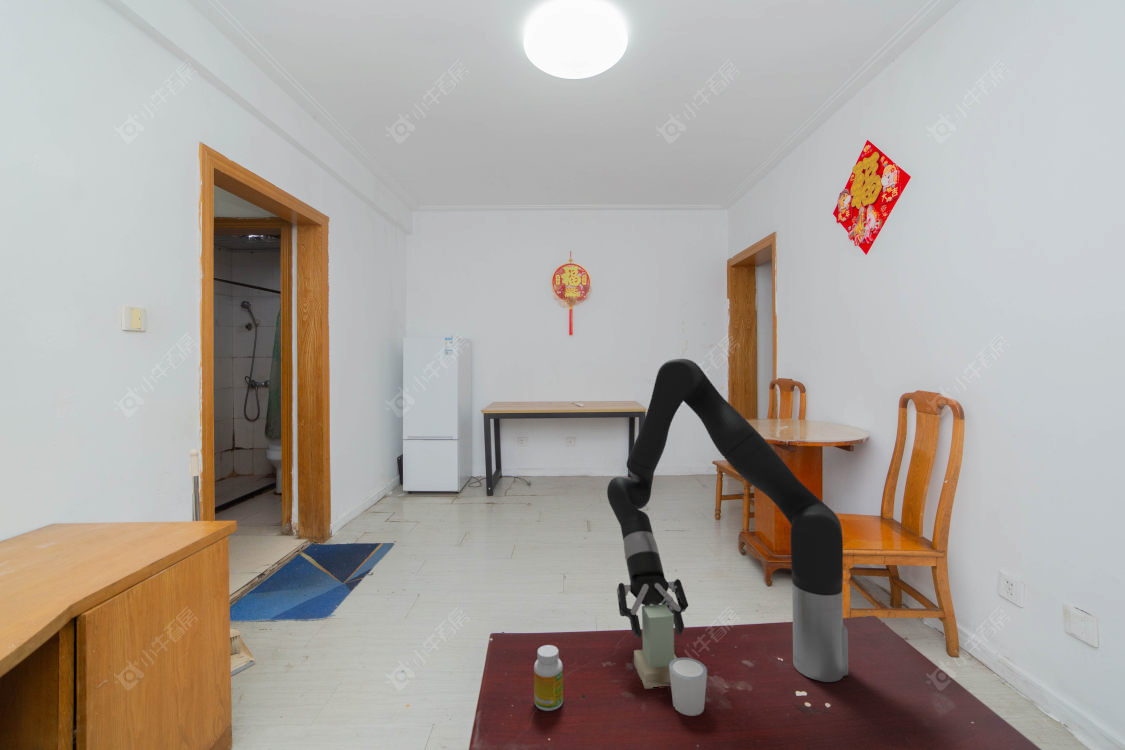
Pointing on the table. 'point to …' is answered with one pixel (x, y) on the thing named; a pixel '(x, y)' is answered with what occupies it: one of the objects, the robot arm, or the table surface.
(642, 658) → the beech block
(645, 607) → the sage brick
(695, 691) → the white cup
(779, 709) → the table surface
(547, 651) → the supplement bottle
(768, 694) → the table surface
